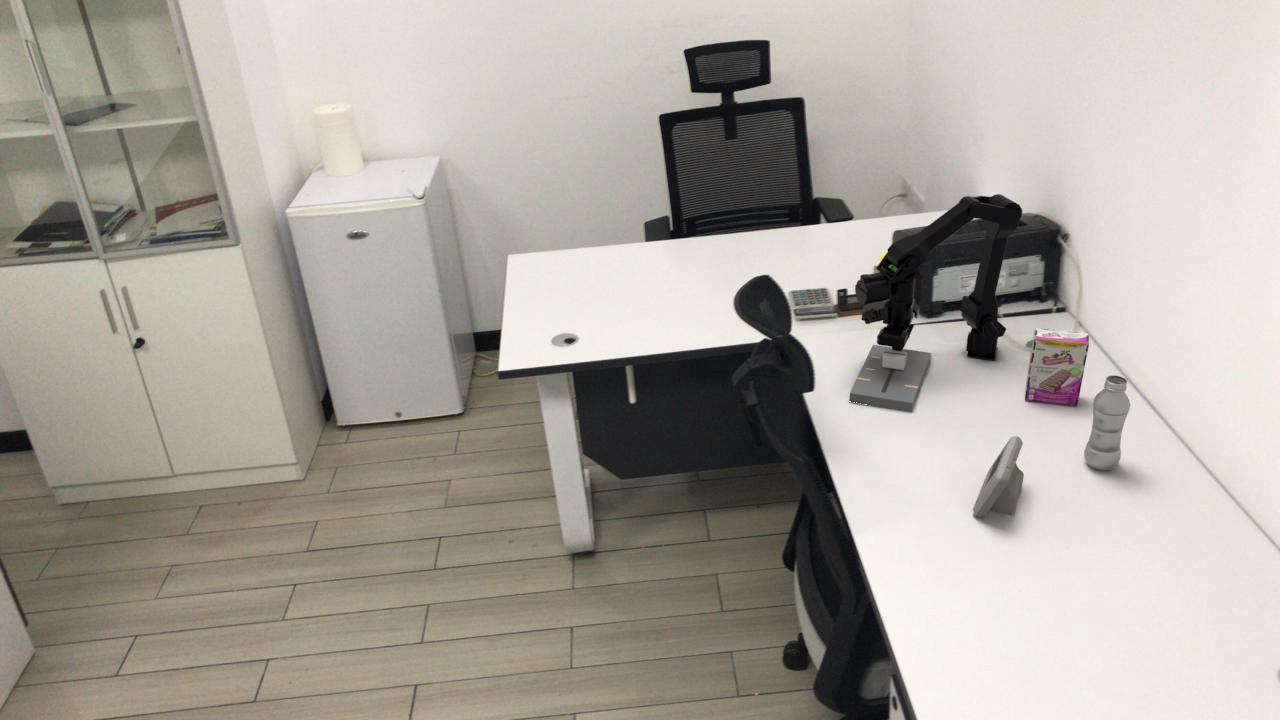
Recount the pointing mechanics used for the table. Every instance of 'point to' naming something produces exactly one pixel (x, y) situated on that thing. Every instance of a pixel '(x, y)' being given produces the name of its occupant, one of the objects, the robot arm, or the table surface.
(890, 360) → the fader knob
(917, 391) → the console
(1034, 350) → the candy bar box
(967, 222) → the robot arm
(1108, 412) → the plastic bottle
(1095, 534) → the table surface
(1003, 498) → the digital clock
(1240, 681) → the table surface
